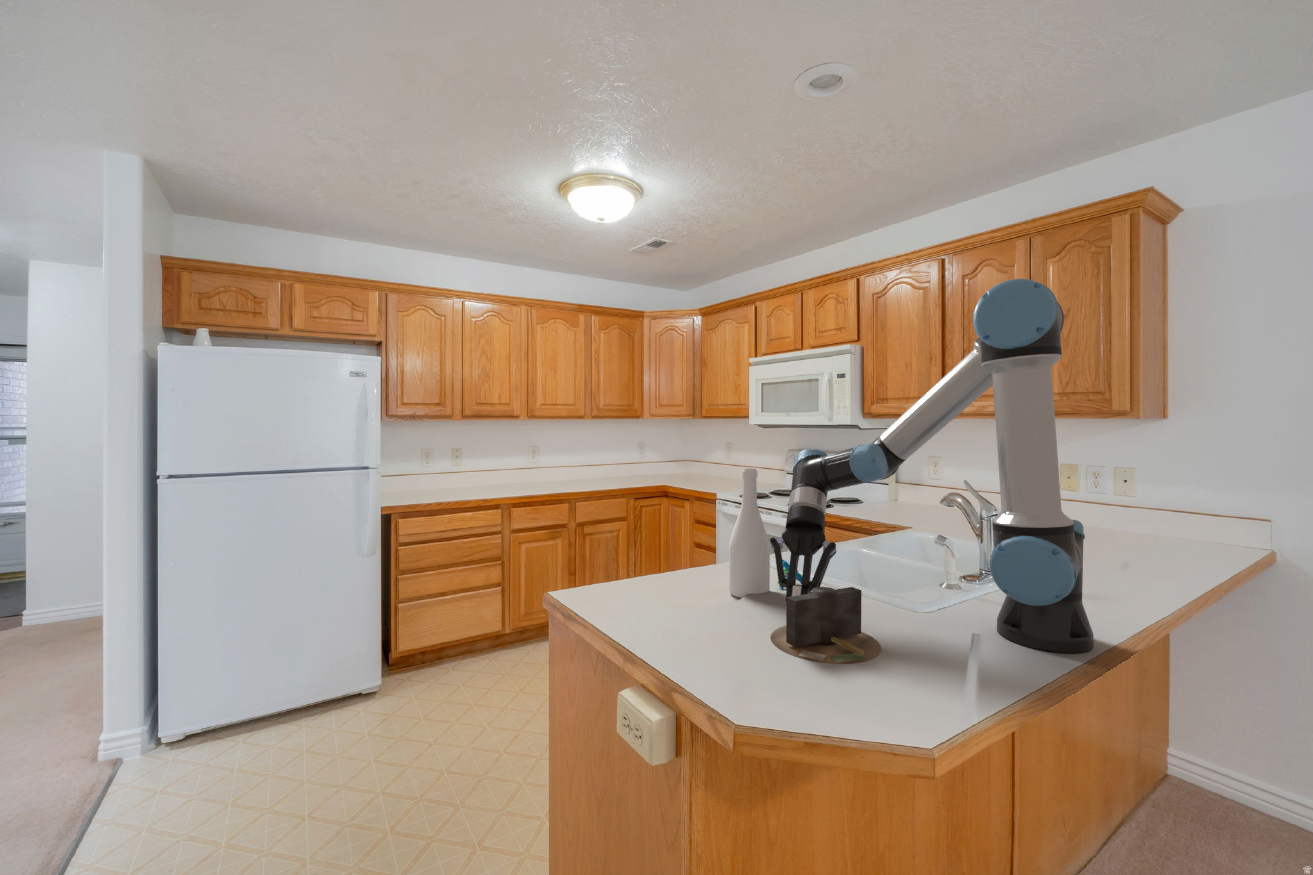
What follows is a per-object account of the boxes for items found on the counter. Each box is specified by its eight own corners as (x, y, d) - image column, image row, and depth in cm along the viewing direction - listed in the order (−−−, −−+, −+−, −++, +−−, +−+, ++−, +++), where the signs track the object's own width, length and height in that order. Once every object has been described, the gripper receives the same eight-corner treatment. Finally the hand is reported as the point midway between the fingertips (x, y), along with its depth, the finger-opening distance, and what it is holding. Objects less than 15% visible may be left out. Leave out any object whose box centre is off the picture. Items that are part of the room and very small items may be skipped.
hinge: (847, 629, 107) (848, 582, 107) (895, 651, 97) (895, 599, 97) (782, 642, 101) (783, 592, 101) (826, 667, 91) (826, 611, 90)
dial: (889, 642, 105) (889, 633, 105) (869, 682, 89) (869, 672, 89) (789, 623, 115) (789, 615, 115) (754, 656, 99) (754, 647, 99)
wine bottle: (721, 591, 137) (721, 467, 137) (754, 586, 141) (754, 465, 141) (743, 602, 129) (743, 470, 128) (777, 597, 133) (778, 468, 132)
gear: (817, 587, 135) (787, 557, 135) (800, 606, 134) (770, 575, 135) (804, 581, 146) (776, 553, 146) (789, 598, 145) (760, 570, 146)
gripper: (840, 527, 117) (832, 636, 103) (776, 522, 122) (760, 626, 107) (838, 505, 112) (831, 617, 97) (772, 501, 117) (755, 607, 102)
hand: (794, 622), depth 102 cm, fingers closed
